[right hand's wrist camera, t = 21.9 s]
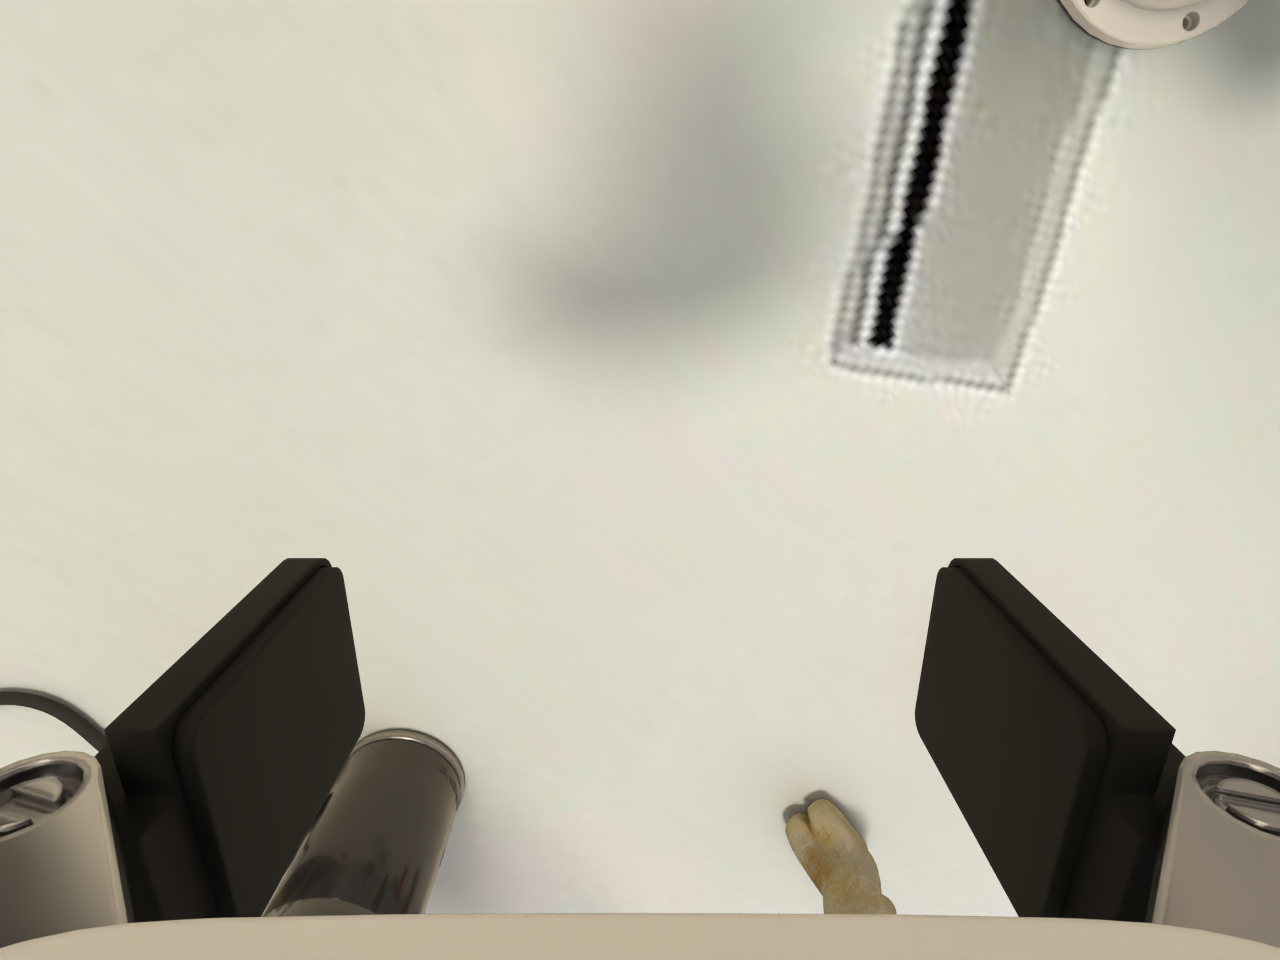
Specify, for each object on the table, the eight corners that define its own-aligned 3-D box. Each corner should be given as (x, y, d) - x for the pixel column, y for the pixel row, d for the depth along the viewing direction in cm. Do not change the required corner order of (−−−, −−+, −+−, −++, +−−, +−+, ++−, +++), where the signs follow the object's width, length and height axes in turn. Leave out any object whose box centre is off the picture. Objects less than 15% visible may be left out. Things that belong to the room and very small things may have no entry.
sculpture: (831, 781, 55) (896, 971, 41) (880, 835, 57) (958, 1035, 43) (770, 817, 57) (814, 1014, 42) (820, 869, 58) (878, 1074, 44)
